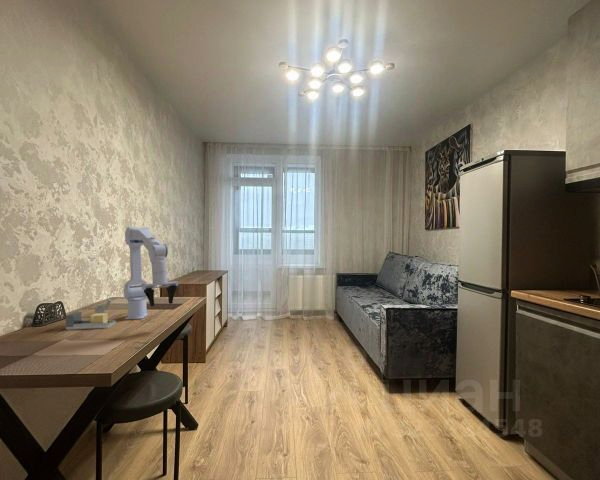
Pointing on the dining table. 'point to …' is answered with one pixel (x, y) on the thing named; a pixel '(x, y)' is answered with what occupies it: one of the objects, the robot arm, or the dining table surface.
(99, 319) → the block
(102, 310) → the lighter
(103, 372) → the dining table surface
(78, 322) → the anvil
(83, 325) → the grey flat tray
